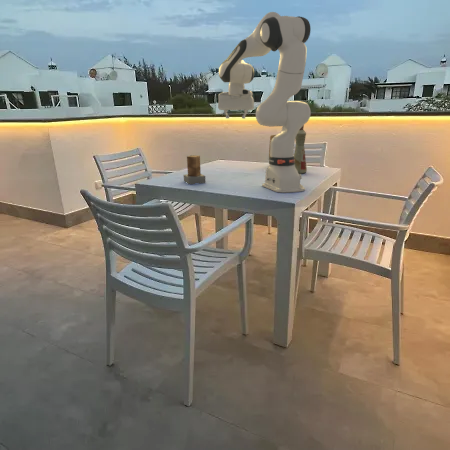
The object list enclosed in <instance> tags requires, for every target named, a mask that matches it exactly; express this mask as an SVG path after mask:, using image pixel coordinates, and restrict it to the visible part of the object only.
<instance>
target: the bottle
mask: <svg viewBox="0 0 450 450" xmlns="http://www.w3.org/2000/svg"><path fill="white" fill-rule="evenodd" d="M304 126H305V124H304V125H303V126H302V127H301V128H300V130H299V131H298V133H297V135H296V138H295V146H294V152H293V156H294V159H295V164H294V165H295V168H296V170H297V171H298V174H299V175H300V174H301V175H302V174H306V173H307V160H306V149H305V142H306V136H307V131H305V130H304Z"/></svg>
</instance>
